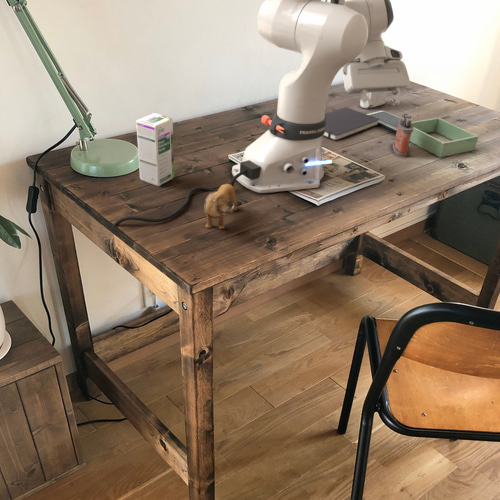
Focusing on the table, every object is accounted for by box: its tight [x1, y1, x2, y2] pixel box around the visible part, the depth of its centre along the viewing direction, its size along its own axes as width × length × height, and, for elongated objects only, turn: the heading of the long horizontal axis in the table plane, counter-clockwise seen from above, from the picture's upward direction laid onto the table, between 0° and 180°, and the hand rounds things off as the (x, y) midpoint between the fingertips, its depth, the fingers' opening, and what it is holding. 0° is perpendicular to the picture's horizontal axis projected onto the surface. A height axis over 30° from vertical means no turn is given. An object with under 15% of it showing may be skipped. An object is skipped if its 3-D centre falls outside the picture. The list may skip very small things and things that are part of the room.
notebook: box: [323, 106, 380, 141], centre depth 167 cm, size 13×2×21 cm
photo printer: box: [359, 91, 388, 110], centre depth 181 cm, size 10×4×12 cm, turn 134°
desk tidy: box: [409, 117, 479, 158], centre depth 160 cm, size 13×15×4 cm
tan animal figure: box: [203, 183, 238, 230], centre depth 116 cm, size 15×5×9 cm, turn 171°
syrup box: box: [135, 112, 175, 187], centre depth 128 cm, size 6×6×14 cm
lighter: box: [392, 111, 413, 158], centre depth 152 cm, size 8×3×10 cm, turn 0°
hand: (383, 106), depth 157 cm, fingers open, 8 cm apart
